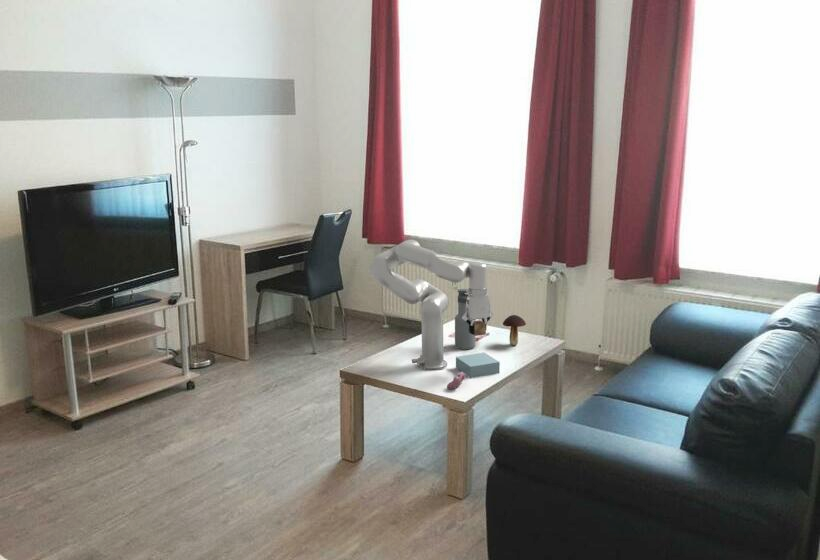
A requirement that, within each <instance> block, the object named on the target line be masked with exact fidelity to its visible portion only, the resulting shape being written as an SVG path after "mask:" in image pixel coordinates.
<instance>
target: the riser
mask: <svg viewBox="0 0 820 560" xmlns="http://www.w3.org/2000/svg"><path fill="white" fill-rule="evenodd" d="M500 364H501V363H500V361H499V360H497V359H496V358H494V357H493V356H490V355H489V354H487V353H485V352H477V353H471V354H465V355H459V356H455V368H456V369H457V370H458V371H460V372H463V373H465V374H466V376H467V377H468V376H469V378H470V379H473V378H478V377H484V376H490V375H496V374H500ZM472 377H473V378H472Z"/></svg>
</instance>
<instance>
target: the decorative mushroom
mask: <svg viewBox="0 0 820 560" xmlns="http://www.w3.org/2000/svg"><path fill="white" fill-rule="evenodd" d="M502 325H503V327H510V330H509V331H510V332H509V340H508V341H509V344H510V345H511V346H513V345H514V346H517V345H518V343H519V331H518V328H519V327H520V328H521V327H524V326H526V325H527V322H526V321H525V320H524V319H523V318H522V317H521V316H519V315H515V314H511V315H509V316H508V317H507V318H505V319H504V320H503V321H502Z"/></svg>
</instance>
